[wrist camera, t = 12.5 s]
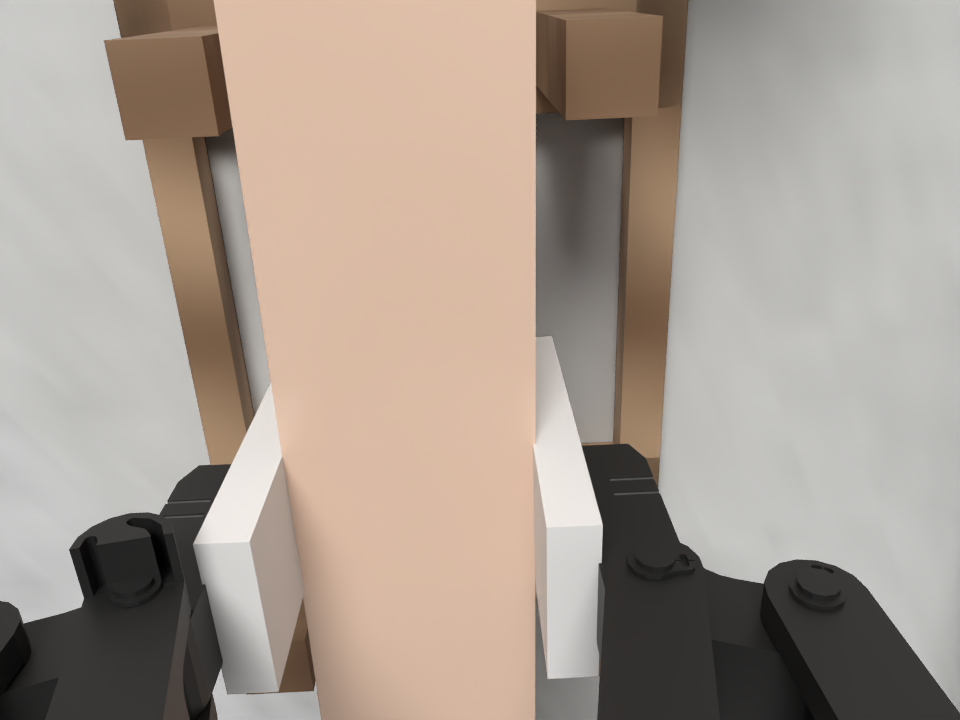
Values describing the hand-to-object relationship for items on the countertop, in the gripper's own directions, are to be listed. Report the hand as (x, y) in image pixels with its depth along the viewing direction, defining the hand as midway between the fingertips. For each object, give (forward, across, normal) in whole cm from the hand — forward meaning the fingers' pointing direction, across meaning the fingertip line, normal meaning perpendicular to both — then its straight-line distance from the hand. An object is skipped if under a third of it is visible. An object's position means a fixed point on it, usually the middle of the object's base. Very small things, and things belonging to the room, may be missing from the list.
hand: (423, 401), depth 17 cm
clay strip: (+1, 0, 0) cm, 1 cm away
